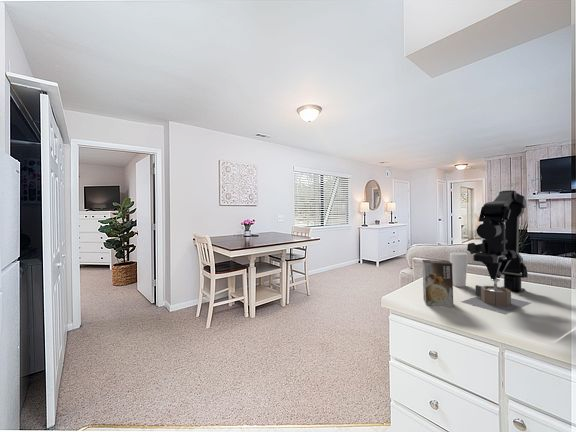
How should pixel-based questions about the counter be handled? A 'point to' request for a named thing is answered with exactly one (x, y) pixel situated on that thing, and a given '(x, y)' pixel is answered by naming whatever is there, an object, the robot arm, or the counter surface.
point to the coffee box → (437, 283)
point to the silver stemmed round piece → (496, 283)
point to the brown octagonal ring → (494, 296)
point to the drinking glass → (459, 268)
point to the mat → (500, 309)
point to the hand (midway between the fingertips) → (495, 278)
